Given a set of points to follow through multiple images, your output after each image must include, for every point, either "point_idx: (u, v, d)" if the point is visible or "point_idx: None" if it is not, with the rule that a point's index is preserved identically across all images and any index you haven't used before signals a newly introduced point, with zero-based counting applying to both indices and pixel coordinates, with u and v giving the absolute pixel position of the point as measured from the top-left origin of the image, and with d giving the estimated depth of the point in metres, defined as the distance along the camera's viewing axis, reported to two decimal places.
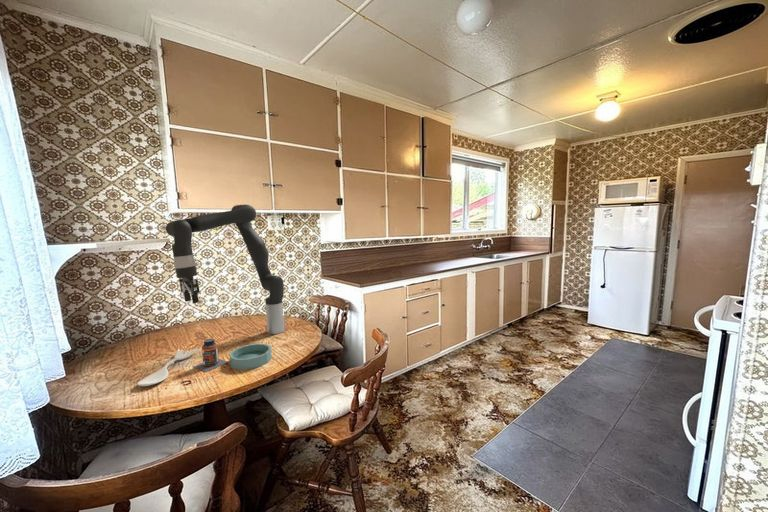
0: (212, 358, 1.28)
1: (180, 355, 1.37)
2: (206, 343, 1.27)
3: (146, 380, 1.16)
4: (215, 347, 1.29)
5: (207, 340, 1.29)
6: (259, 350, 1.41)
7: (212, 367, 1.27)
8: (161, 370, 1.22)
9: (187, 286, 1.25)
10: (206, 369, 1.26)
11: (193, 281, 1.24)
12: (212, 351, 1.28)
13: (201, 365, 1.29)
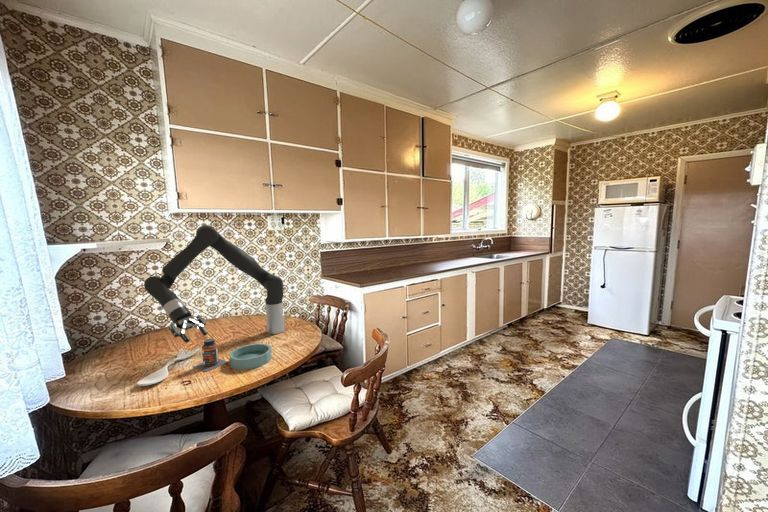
0: (212, 358, 1.28)
1: (182, 355, 1.38)
2: (206, 343, 1.27)
3: (146, 380, 1.16)
4: (215, 347, 1.29)
5: (207, 340, 1.29)
6: (259, 350, 1.41)
7: (212, 367, 1.27)
8: (161, 370, 1.22)
9: None
10: (206, 369, 1.26)
11: (169, 327, 1.27)
12: (212, 351, 1.28)
13: (201, 365, 1.29)
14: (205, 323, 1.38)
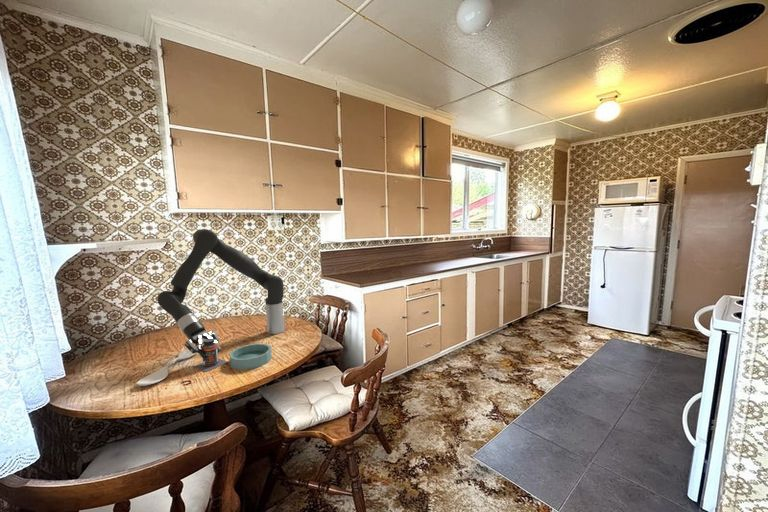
0: (212, 358, 1.28)
1: (183, 354, 1.38)
2: (206, 343, 1.27)
3: (146, 379, 1.16)
4: (215, 347, 1.29)
5: (207, 340, 1.29)
6: (259, 350, 1.41)
7: (212, 367, 1.27)
8: (162, 369, 1.22)
9: (195, 345, 1.28)
10: (206, 369, 1.26)
11: (185, 344, 1.25)
12: (212, 351, 1.28)
13: (201, 365, 1.29)
14: (218, 339, 1.35)
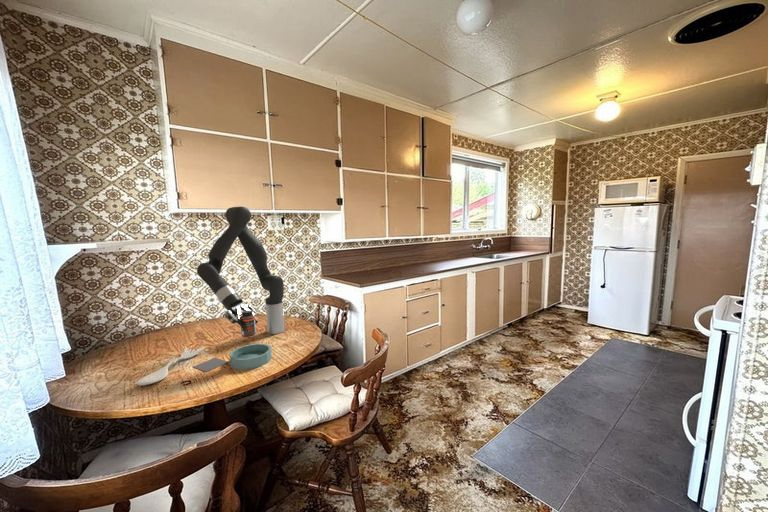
0: (251, 328, 1.30)
1: (186, 354, 1.39)
2: (245, 314, 1.29)
3: (145, 379, 1.17)
4: (253, 318, 1.31)
5: (245, 311, 1.31)
6: (259, 350, 1.41)
7: (212, 367, 1.27)
8: (162, 369, 1.22)
9: (234, 316, 1.31)
10: (206, 369, 1.26)
11: (225, 314, 1.27)
12: (250, 321, 1.30)
13: (201, 365, 1.29)
14: (255, 311, 1.37)
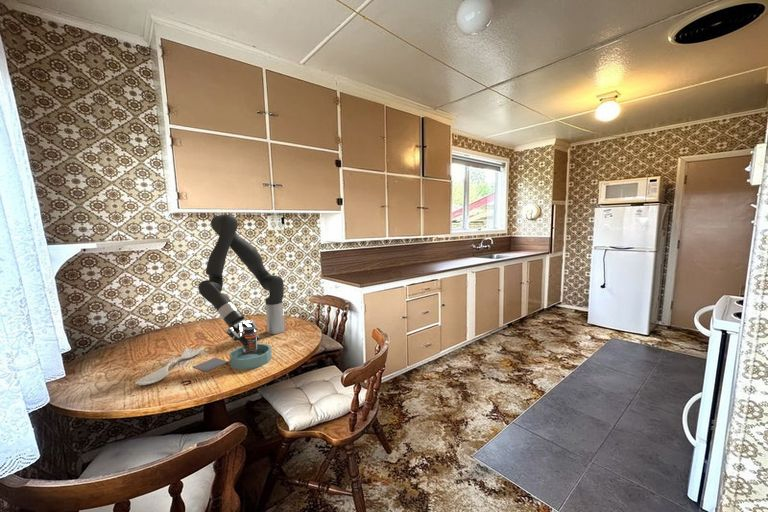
0: (253, 345, 1.31)
1: (187, 354, 1.39)
2: (247, 331, 1.30)
3: (146, 378, 1.17)
4: (255, 335, 1.32)
5: (247, 328, 1.31)
6: (259, 350, 1.41)
7: (212, 367, 1.27)
8: (162, 369, 1.23)
9: (235, 333, 1.31)
10: (206, 369, 1.26)
11: (227, 331, 1.27)
12: (252, 339, 1.31)
13: (201, 365, 1.29)
14: (256, 328, 1.38)
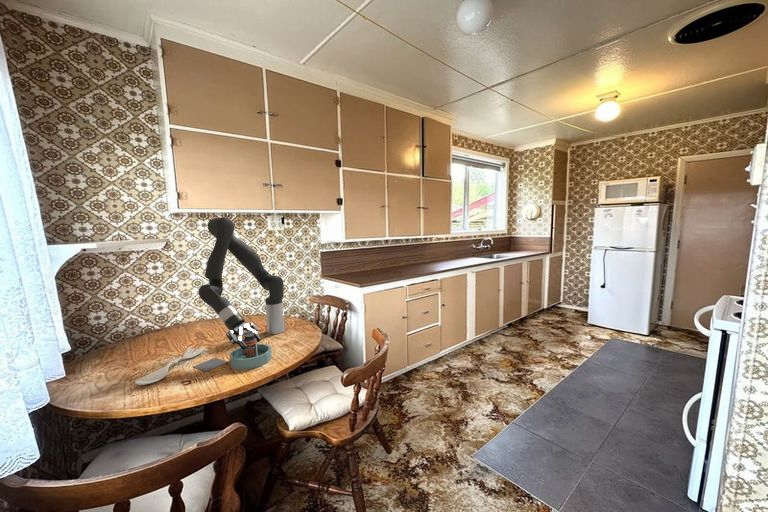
0: (253, 352, 1.31)
1: (188, 354, 1.39)
2: (247, 338, 1.30)
3: (145, 378, 1.17)
4: (255, 342, 1.32)
5: (247, 335, 1.32)
6: (259, 350, 1.41)
7: (212, 367, 1.27)
8: (162, 369, 1.23)
9: (235, 336, 1.31)
10: (206, 369, 1.26)
11: (227, 334, 1.28)
12: (252, 345, 1.31)
13: (201, 365, 1.29)
14: (258, 330, 1.39)
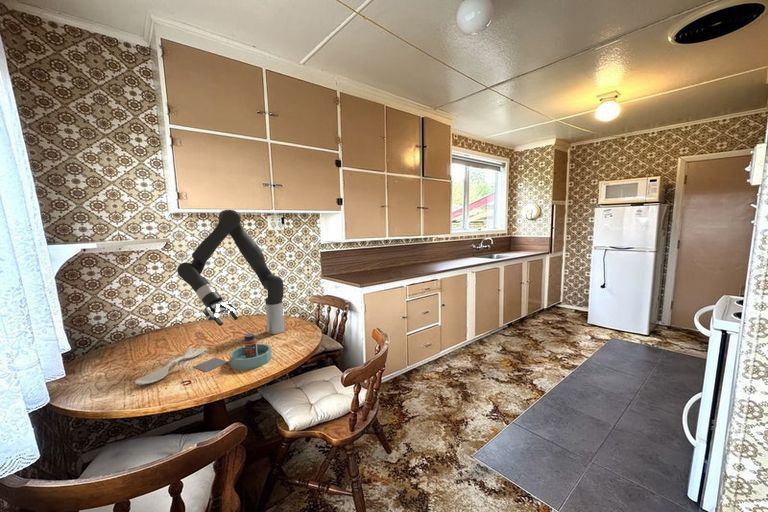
0: (253, 352, 1.31)
1: (189, 353, 1.39)
2: (247, 338, 1.30)
3: (146, 378, 1.18)
4: (255, 342, 1.32)
5: (247, 335, 1.32)
6: (259, 350, 1.41)
7: (212, 367, 1.27)
8: (163, 368, 1.23)
9: None
10: (206, 369, 1.26)
11: (203, 310, 1.31)
12: (252, 345, 1.31)
13: (201, 365, 1.29)
14: (235, 308, 1.42)
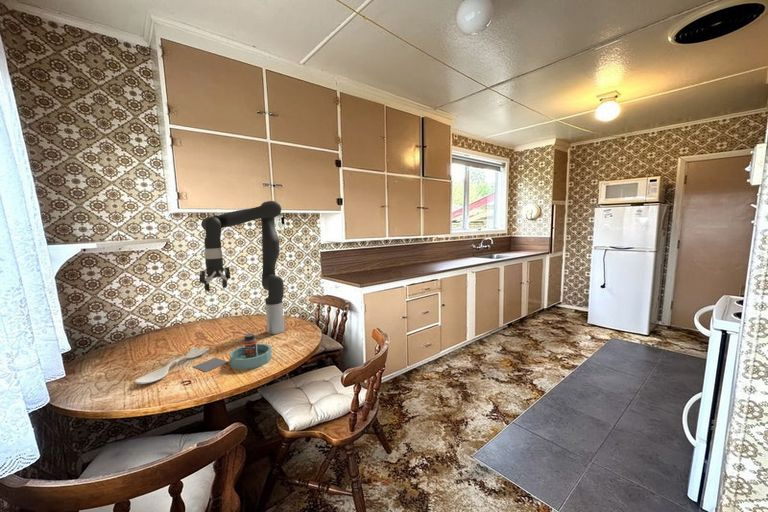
0: (253, 352, 1.31)
1: (191, 353, 1.39)
2: (247, 338, 1.30)
3: (146, 377, 1.18)
4: (255, 342, 1.32)
5: (247, 335, 1.32)
6: (259, 350, 1.41)
7: (212, 367, 1.27)
8: (163, 368, 1.23)
9: (207, 275, 1.44)
10: (206, 369, 1.26)
11: (200, 272, 1.40)
12: (252, 345, 1.31)
13: (201, 365, 1.29)
14: (229, 277, 1.51)
